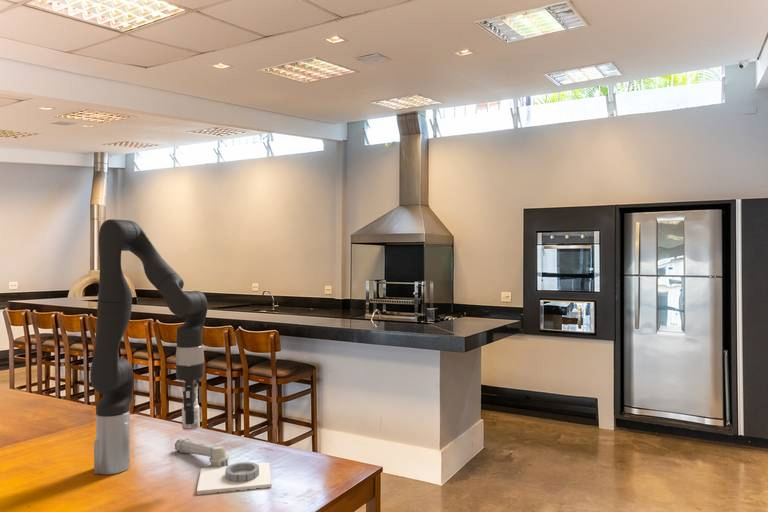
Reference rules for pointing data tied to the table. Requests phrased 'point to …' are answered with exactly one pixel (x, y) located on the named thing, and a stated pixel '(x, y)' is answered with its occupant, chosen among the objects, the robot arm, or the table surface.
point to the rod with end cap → (204, 451)
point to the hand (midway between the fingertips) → (190, 420)
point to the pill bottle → (196, 417)
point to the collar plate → (223, 485)
